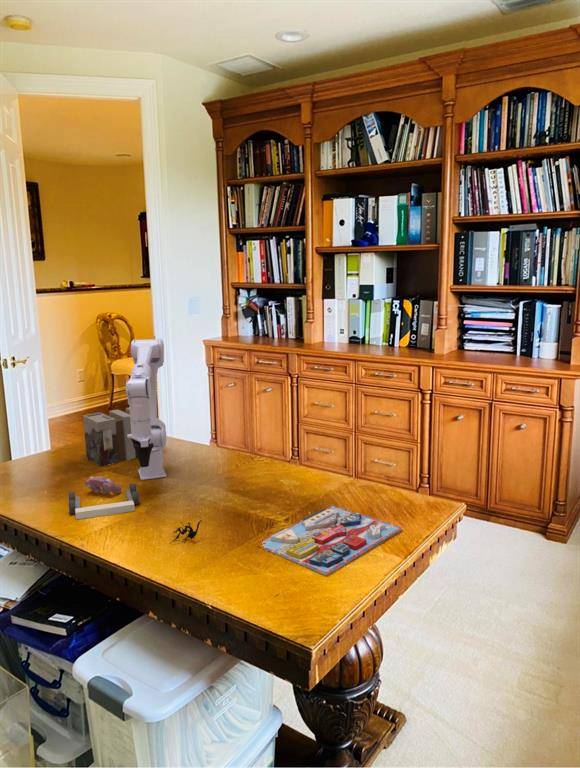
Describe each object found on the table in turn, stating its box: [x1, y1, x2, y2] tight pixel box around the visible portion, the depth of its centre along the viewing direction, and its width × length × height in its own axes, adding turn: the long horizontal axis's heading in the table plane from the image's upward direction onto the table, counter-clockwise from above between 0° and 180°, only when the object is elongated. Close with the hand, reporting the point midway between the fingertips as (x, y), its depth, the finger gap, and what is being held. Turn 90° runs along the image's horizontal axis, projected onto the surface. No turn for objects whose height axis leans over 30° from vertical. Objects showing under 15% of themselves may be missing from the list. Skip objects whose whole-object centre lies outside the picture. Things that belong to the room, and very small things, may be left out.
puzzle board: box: [260, 505, 403, 577], centre depth 151 cm, size 30×23×3 cm
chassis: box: [68, 483, 140, 521], centre depth 173 cm, size 14×19×4 cm
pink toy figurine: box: [84, 475, 122, 496], centre depth 182 cm, size 10×5×7 cm, turn 68°
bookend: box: [82, 406, 159, 467], centre depth 216 cm, size 16×25×16 cm, turn 130°
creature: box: [170, 519, 203, 543], centre depth 152 cm, size 8×5×8 cm
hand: (143, 463), depth 180 cm, fingers open, 5 cm apart
